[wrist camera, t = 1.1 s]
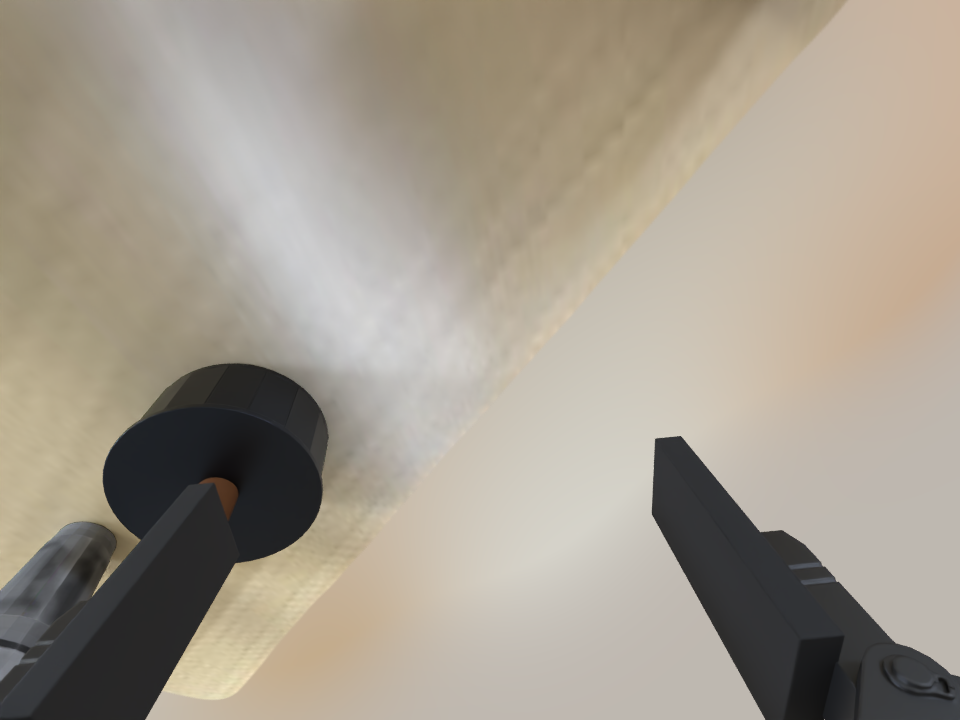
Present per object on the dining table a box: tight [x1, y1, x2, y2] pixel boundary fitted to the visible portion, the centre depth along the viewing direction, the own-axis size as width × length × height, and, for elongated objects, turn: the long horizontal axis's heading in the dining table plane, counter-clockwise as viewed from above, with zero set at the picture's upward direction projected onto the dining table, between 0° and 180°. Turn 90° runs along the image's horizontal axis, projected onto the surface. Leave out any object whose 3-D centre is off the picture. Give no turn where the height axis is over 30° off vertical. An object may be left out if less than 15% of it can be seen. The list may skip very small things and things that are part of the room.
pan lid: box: [103, 403, 323, 563], centre depth 31 cm, size 14×14×9 cm
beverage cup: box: [0, 522, 116, 681], centre depth 34 cm, size 7×7×20 cm
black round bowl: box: [141, 364, 328, 476], centre depth 38 cm, size 13×13×6 cm
